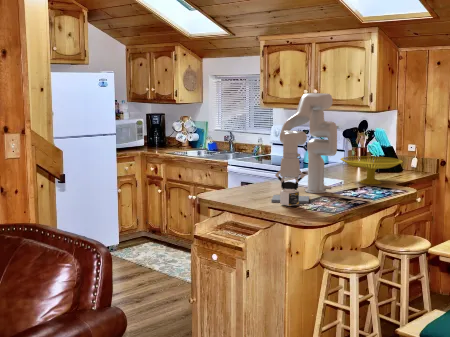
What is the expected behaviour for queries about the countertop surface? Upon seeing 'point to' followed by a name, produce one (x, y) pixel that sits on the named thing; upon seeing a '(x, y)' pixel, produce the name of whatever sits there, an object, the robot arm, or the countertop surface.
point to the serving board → (301, 199)
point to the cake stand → (371, 166)
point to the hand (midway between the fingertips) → (289, 189)
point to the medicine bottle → (289, 194)
